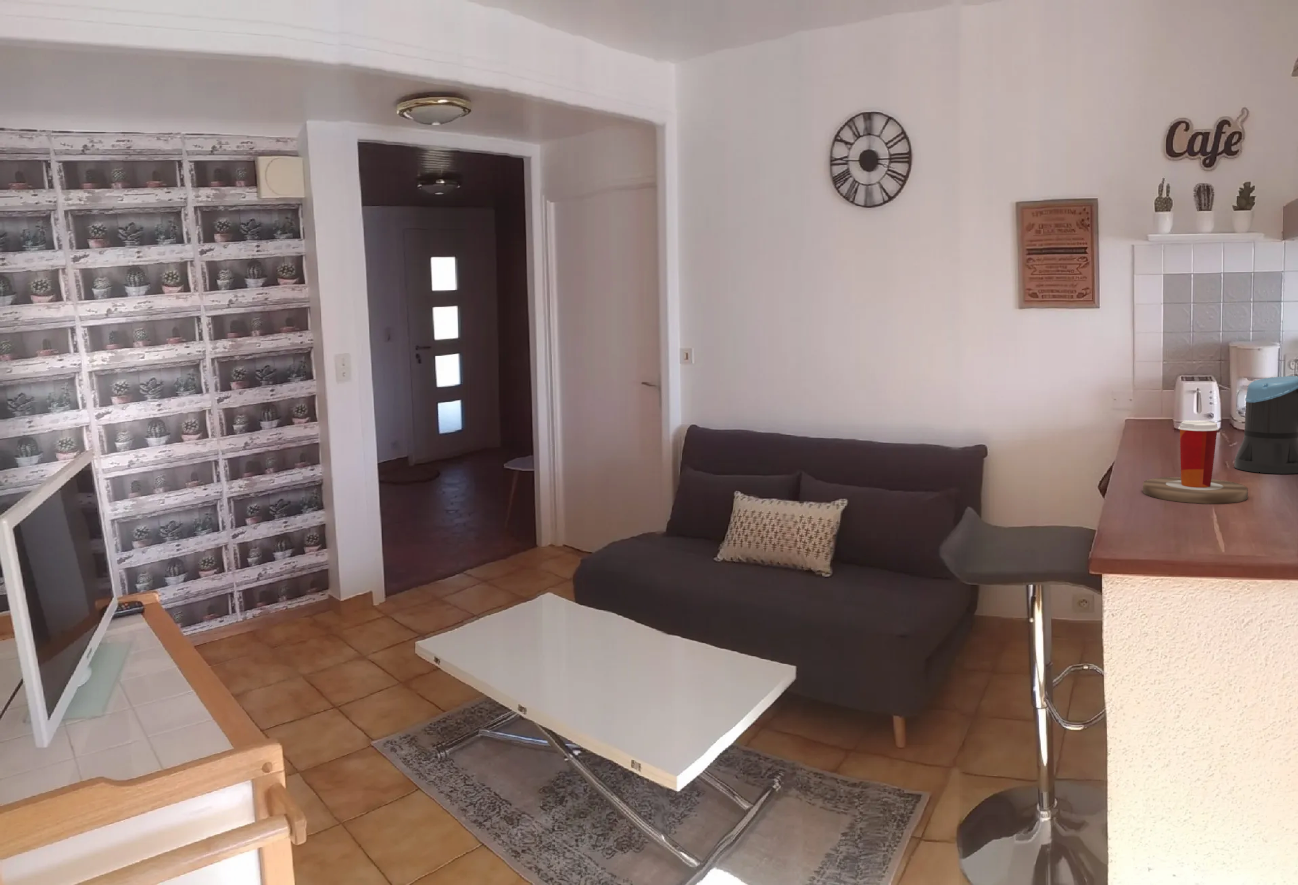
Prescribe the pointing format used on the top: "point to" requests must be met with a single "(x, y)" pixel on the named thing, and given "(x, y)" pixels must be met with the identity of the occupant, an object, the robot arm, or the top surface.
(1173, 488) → the disc
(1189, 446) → the paper cup
